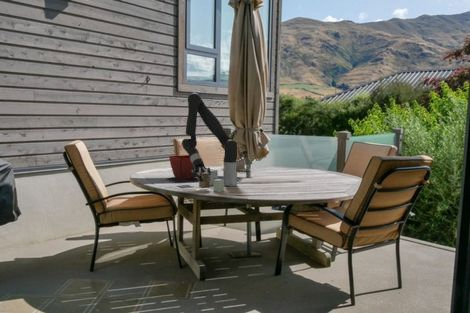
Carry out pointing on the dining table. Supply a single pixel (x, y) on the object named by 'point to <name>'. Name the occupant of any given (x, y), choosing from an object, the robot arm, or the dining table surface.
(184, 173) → the plant pot
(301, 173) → the dining table surface
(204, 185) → the walnut block
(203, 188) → the lettered tile
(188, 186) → the slate coaster
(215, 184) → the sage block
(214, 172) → the light bulb box
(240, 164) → the cookie jar
